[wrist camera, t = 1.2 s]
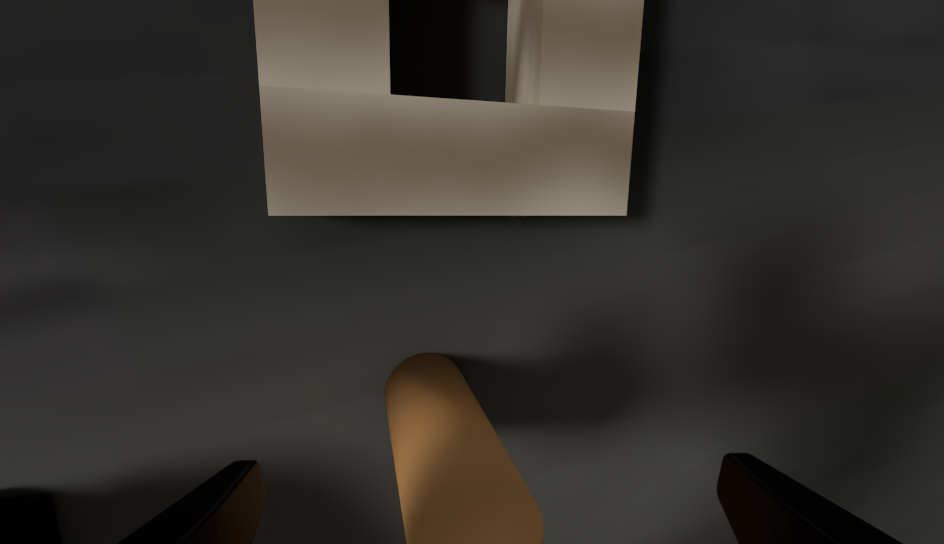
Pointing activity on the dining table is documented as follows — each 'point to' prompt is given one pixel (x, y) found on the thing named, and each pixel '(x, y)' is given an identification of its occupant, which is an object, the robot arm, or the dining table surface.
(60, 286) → the dining table surface
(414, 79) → the dining table surface
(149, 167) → the dining table surface
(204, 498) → the robot arm
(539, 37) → the socket block
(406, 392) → the peg
